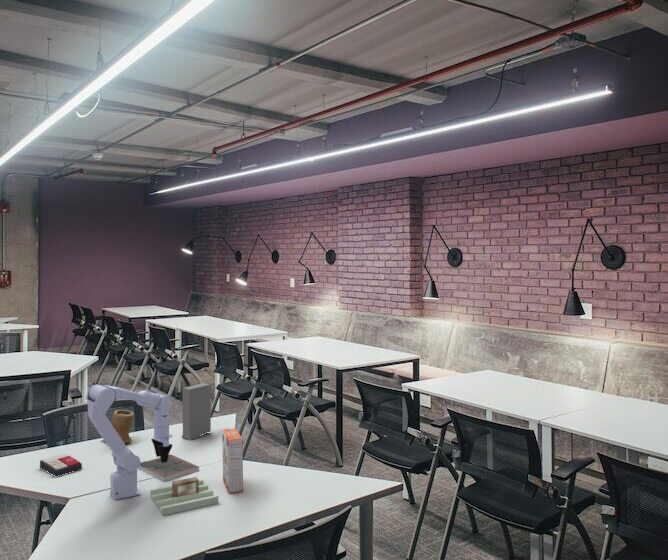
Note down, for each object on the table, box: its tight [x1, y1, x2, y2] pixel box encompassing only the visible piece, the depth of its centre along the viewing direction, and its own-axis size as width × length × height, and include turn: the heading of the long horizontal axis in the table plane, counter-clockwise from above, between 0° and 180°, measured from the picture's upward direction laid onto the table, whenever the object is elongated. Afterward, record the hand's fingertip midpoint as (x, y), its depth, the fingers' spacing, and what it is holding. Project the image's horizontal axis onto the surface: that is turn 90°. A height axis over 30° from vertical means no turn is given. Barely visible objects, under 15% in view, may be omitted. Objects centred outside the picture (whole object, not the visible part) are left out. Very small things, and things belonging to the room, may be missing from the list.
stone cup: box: [100, 409, 135, 445], centre depth 279 cm, size 15×12×15 cm
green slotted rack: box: [149, 479, 219, 516], centre depth 214 cm, size 20×18×2 cm
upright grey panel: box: [181, 382, 212, 440], centre depth 288 cm, size 14×6×25 cm, turn 145°
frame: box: [171, 476, 200, 498], centre depth 214 cm, size 9×3×6 cm, turn 121°
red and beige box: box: [39, 453, 83, 477], centre depth 243 cm, size 11×4×15 cm
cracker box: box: [221, 428, 244, 494], centre depth 226 cm, size 14×6×21 cm, turn 20°
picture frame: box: [137, 454, 200, 482], centre depth 244 cm, size 16×2×22 cm
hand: (161, 459), depth 229 cm, fingers open, 7 cm apart
